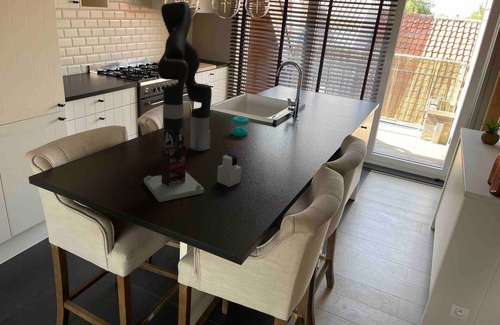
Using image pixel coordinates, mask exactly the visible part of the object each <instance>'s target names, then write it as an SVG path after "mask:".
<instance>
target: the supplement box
mask: <svg viewBox="0 0 500 325" xmlns="http://www.w3.org/2000/svg"><path fill="white" fill-rule="evenodd" d="M186 164H187V145H186V144H184V151H181V160H177V161H176V160H175V150H174V146H172V144H170V145H166V144H165V145H162V146H161V174H160V175H161V177H162V178H161V181H162V185H164V186H166V187H168V188H170V187H172V186H175V185H178V184H181V183H184V182H185V172H187V170H186V167H187V166H186Z"/></svg>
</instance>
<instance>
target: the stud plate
mask: <svg viewBox="0 0 500 325" xmlns="http://www.w3.org/2000/svg"><path fill="white" fill-rule="evenodd" d="M161 178H162V177H161V174H160V175H154V176H151V175H146V177H144V178H143V183H144V185H145V186H146V187H147V188H148V189H149V191H150V192H151V194H152V195H153V196H154V197H155V199H156V200H157V201H158V202H159V203H162V202H166V201H171V200H177V199H180V198H185V197H186V198H187V197H191V196H196V195H201V194H204V193H205V188H204V187H203V186H202V185H201V184H200V183H199V182H198V181H197V180H196V179H194V178H193V177H192V175H190V174H189V173H188V172H187V171H186V172H185V182H184V183H181V184H178V185H175V186H172V187H170V188H168V187H166V186H164V185H162V181H161Z"/></svg>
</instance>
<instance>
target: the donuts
mask: <svg viewBox="0 0 500 325" xmlns="http://www.w3.org/2000/svg"><path fill="white" fill-rule="evenodd" d="M231 122H232V123H233V124H234V125H236V126H246V125H248V124H249V123H250V119H249V118H247V117H245V116H234V117H232V118H231ZM230 134H232V136H235V137H240V138H241V137H246V136H248V135H249V131H248V130H247V128H244V127H234V128H232V129H231V132H230Z"/></svg>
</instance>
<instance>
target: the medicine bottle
mask: <svg viewBox="0 0 500 325" xmlns="http://www.w3.org/2000/svg"><path fill="white" fill-rule="evenodd" d="M241 175H242V167H241V166H239V165H238V156H237V155H235V154H232V153H228V154H224V155H223V156H222V164H221V165H218V166H217V178H216V181H217V183H219V184H221V185H223V186H226V187H227V188H230V187H232V186H235V185H237V184H239V183H241V178H242V176H241Z"/></svg>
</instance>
